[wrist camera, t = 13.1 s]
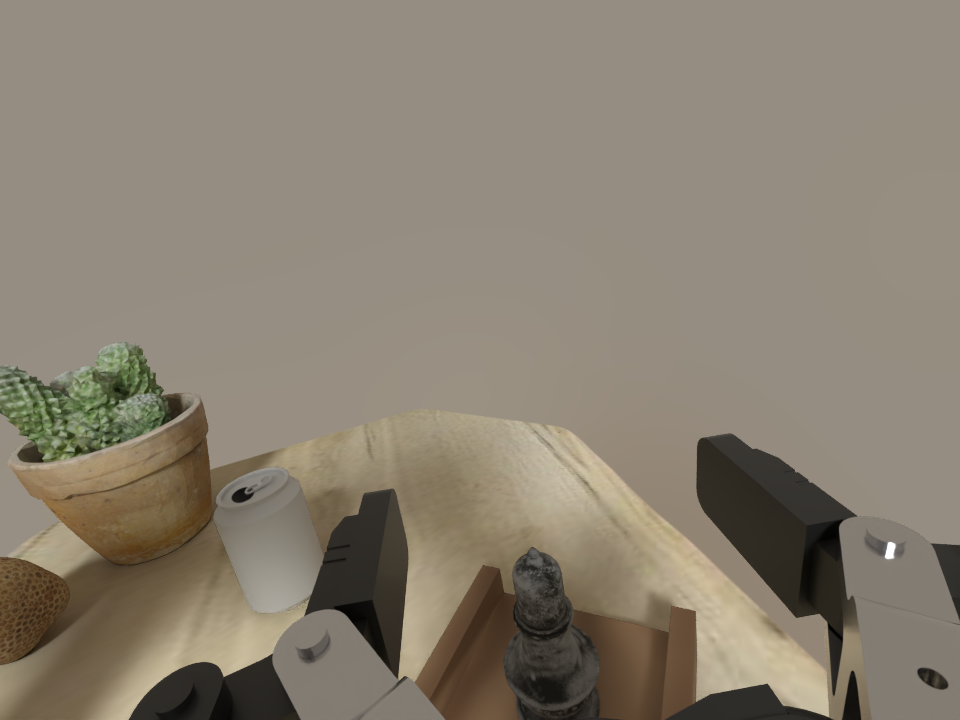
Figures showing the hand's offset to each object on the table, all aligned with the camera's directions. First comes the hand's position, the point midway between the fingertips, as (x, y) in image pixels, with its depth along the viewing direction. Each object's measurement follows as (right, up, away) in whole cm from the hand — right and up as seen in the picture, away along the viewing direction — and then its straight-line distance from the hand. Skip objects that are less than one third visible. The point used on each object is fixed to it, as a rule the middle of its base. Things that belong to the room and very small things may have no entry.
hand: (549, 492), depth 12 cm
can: (-20, -19, +33) cm, 43 cm away
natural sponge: (-45, -24, +31) cm, 60 cm away
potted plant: (-42, -19, +46) cm, 65 cm away
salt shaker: (+3, -18, +17) cm, 25 cm away
